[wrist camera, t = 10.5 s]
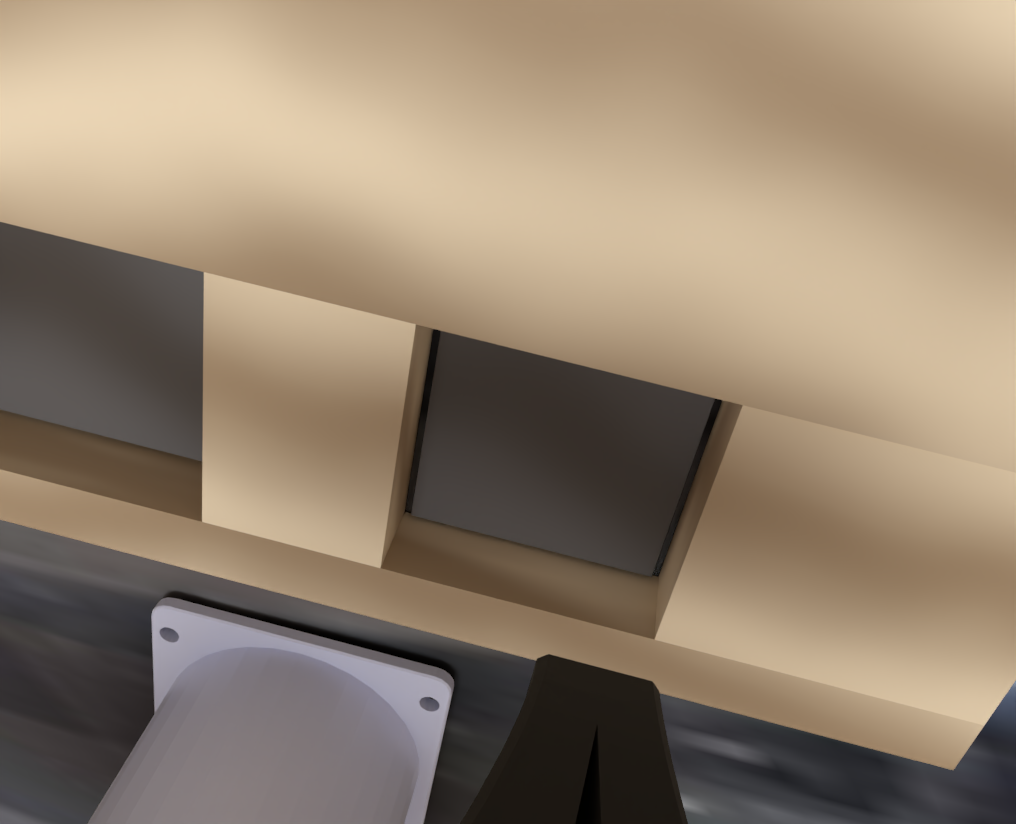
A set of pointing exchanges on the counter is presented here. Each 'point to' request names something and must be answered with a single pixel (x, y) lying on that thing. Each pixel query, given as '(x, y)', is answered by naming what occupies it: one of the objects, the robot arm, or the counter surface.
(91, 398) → the board
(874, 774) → the counter surface
